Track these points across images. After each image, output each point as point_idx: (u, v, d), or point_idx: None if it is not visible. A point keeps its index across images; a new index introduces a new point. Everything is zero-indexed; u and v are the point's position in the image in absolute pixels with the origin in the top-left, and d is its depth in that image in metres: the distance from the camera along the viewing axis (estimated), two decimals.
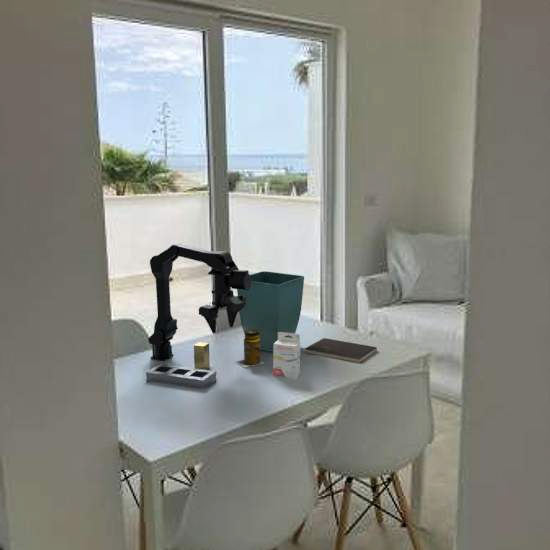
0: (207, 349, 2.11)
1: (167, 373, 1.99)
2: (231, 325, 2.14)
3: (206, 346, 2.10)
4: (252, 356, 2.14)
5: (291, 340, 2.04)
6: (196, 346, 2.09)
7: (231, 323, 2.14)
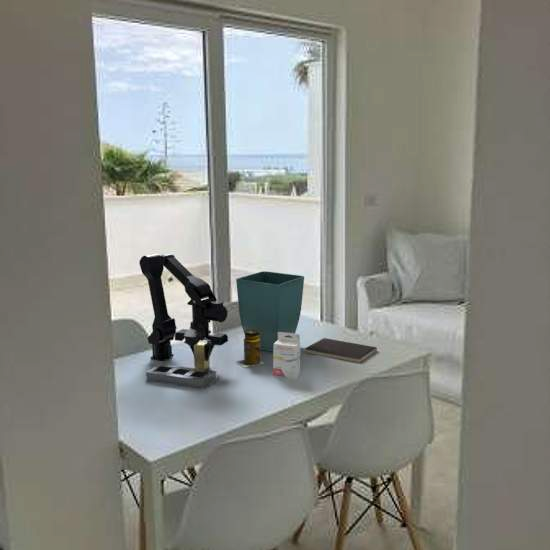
0: None
1: (167, 373, 1.99)
2: None
3: None
4: (252, 356, 2.14)
5: (291, 340, 2.04)
6: (196, 346, 2.09)
7: None
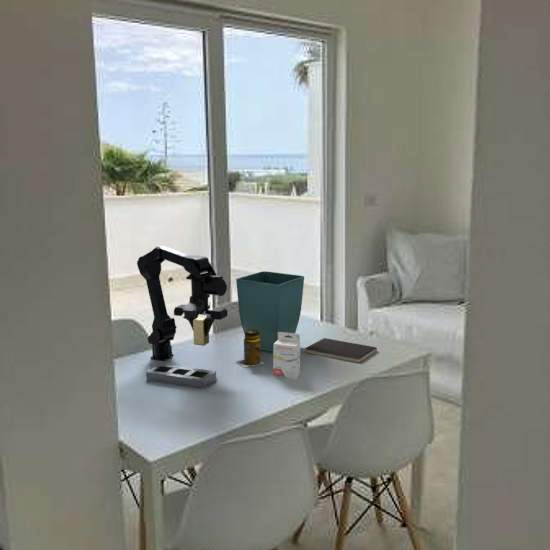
0: None
1: (167, 373, 1.99)
2: None
3: None
4: (252, 356, 2.14)
5: (291, 340, 2.04)
6: (195, 321, 2.08)
7: None
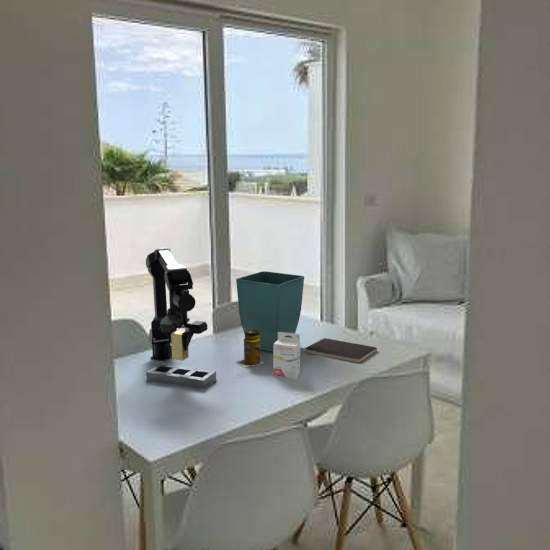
0: None
1: (167, 373, 1.99)
2: None
3: None
4: (252, 356, 2.14)
5: (291, 340, 2.04)
6: (173, 335, 1.96)
7: None
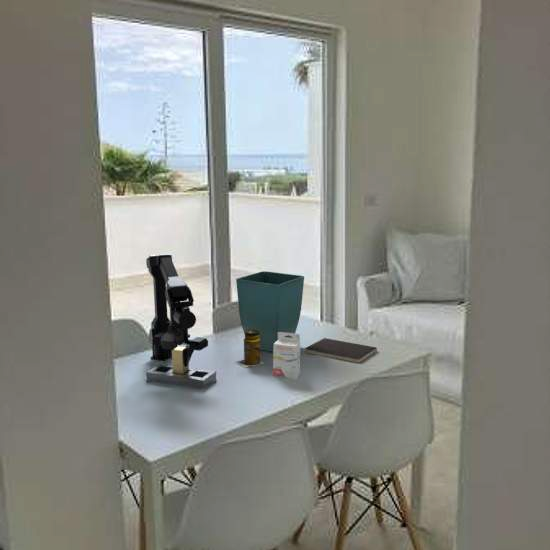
0: None
1: (167, 373, 1.99)
2: None
3: None
4: (252, 356, 2.14)
5: (291, 340, 2.04)
6: (174, 351, 1.98)
7: None
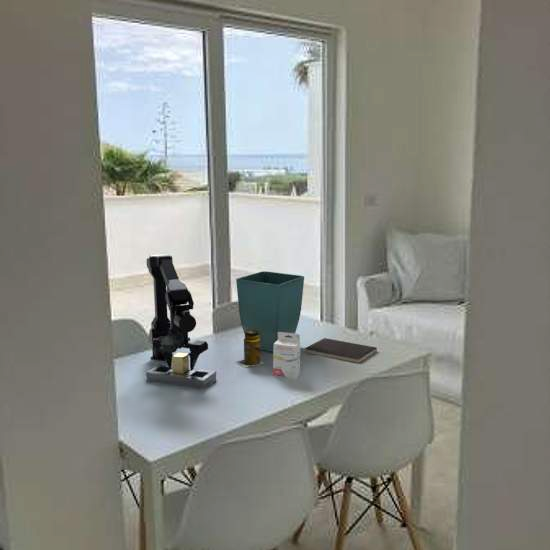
0: (186, 360, 2.00)
1: (167, 373, 1.99)
2: None
3: (185, 357, 1.99)
4: (252, 356, 2.14)
5: (291, 340, 2.04)
6: (175, 357, 1.98)
7: None
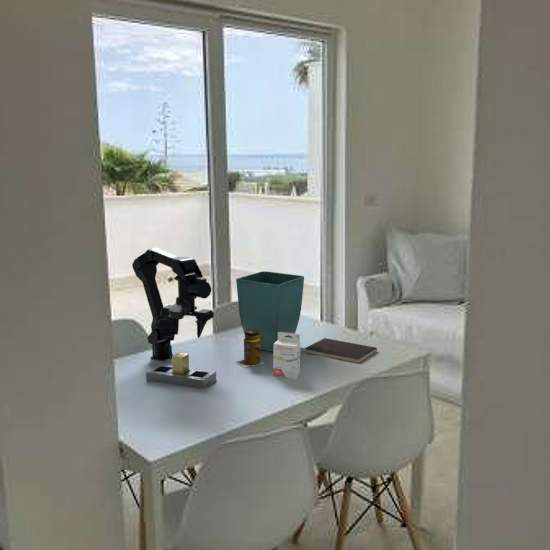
0: (186, 360, 2.00)
1: (167, 373, 1.99)
2: None
3: (185, 357, 1.99)
4: (252, 356, 2.14)
5: (291, 340, 2.04)
6: (175, 357, 1.98)
7: None
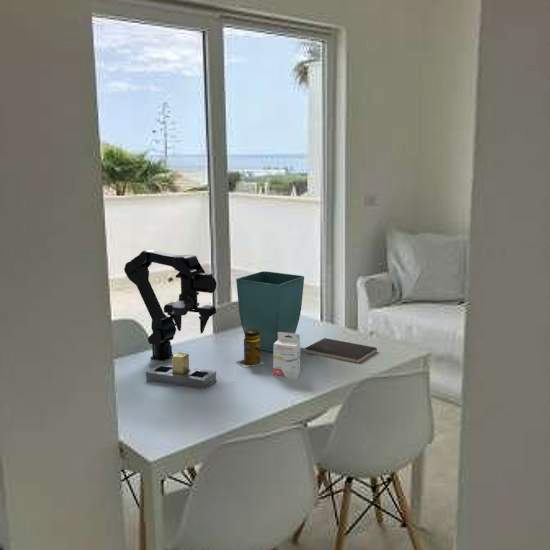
0: (186, 360, 2.00)
1: (167, 373, 1.99)
2: None
3: (185, 357, 1.99)
4: (252, 356, 2.14)
5: (291, 340, 2.04)
6: (175, 357, 1.98)
7: None
